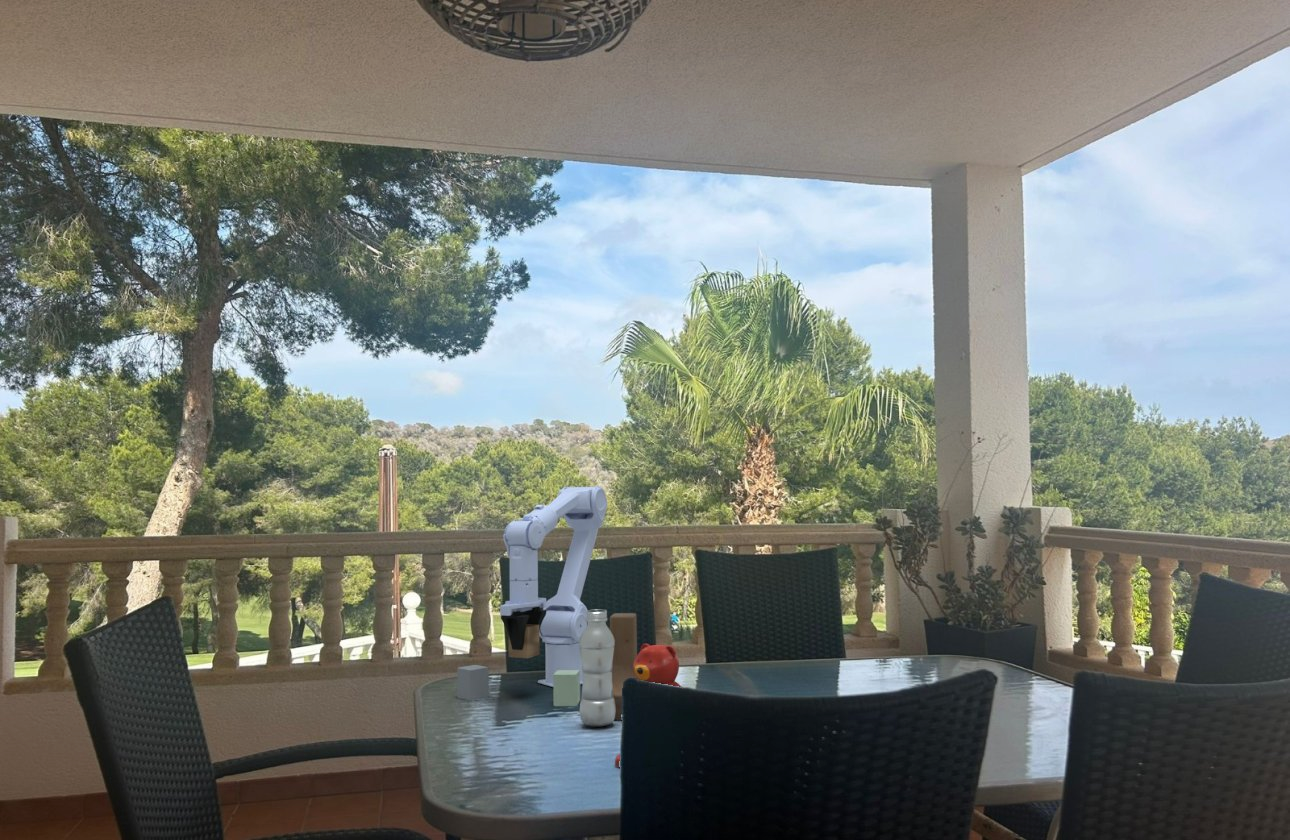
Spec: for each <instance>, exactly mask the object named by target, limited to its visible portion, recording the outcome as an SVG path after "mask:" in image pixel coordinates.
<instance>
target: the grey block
mask: <svg viewBox="0 0 1290 840" xmlns="http://www.w3.org/2000/svg"><path fill="white" fill-rule="evenodd" d="M489 669H490V668H489V666H485V665H484V666H483V665H479V664H472V665H465V666H459V667H456V671H457V672H456V677H457V678H456V680H457V681H456V683H457V684H456V687H457V688H456V691H457V693H456V695H457V696H456V698H458V699H461V700H464V701H465V700H466V701H469V702H472V701H477V700H482V699H485V698H486V699H487V698H489V697H490V696H489V694H490V692H489V689H490V688H489V687H490V686H489V682H490V681H489V675H490V674H489V671H490V670H489Z"/></svg>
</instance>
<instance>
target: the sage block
mask: <svg viewBox="0 0 1290 840" xmlns="http://www.w3.org/2000/svg"><path fill="white" fill-rule="evenodd" d="M552 688H553V707H577V706H578V705H579V703H581V684H580V670H557V671H556V672H555V673H554V674H553V687H552Z"/></svg>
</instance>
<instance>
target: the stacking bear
mask: <svg viewBox="0 0 1290 840" xmlns="http://www.w3.org/2000/svg"><path fill="white" fill-rule="evenodd" d="M679 669H680V661H679V657H678V656H677V651H676V648H675V647H674V646H672V645H664V644H654V645H650V644H649V643H643V644H642V645H641V646H640V651H639V652H638V653H637V657H636V659H635V661H634V664H633V670H634V673H635V676H636V678H637V680H638V679H639V680H644V681H648V682H655V683H661V684H668V685H673V686H679V687H682V685H680V683H678V682H677V681H676V679H677V677H678V674H679ZM639 680H638V681H639ZM619 761H620V753H618V754H617V755H616V756H615V759H614V766H615V767H616V768H619Z"/></svg>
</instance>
